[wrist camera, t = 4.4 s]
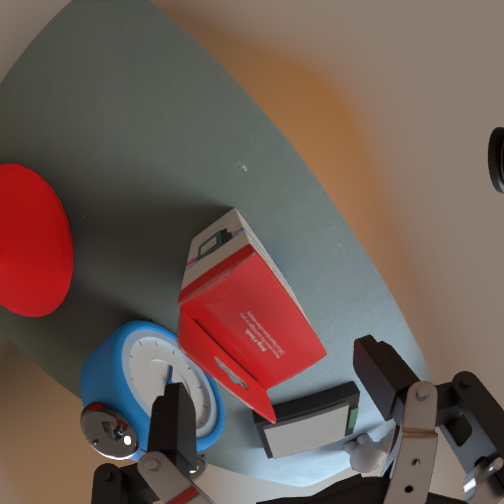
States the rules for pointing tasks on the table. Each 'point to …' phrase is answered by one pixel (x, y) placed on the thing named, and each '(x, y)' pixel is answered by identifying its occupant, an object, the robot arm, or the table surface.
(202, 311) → the ink box
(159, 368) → the alarm clock
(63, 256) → the flat cone with hole
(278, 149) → the table surface
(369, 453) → the round bodied animal figurine
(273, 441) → the scale
